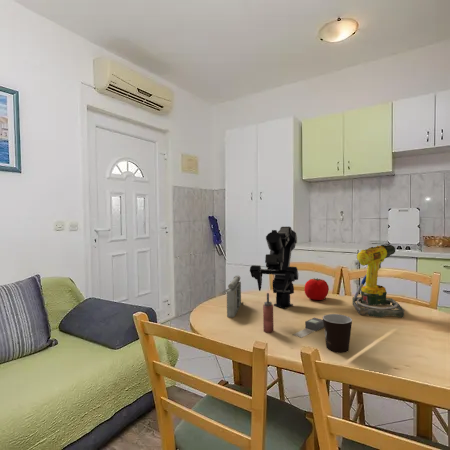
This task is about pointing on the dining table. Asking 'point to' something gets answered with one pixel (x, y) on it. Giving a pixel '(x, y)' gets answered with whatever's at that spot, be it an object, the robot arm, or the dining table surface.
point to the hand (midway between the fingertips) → (271, 291)
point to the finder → (314, 324)
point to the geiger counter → (233, 296)
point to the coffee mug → (337, 332)
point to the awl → (268, 316)
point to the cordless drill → (375, 285)
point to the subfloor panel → (303, 333)
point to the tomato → (316, 289)
